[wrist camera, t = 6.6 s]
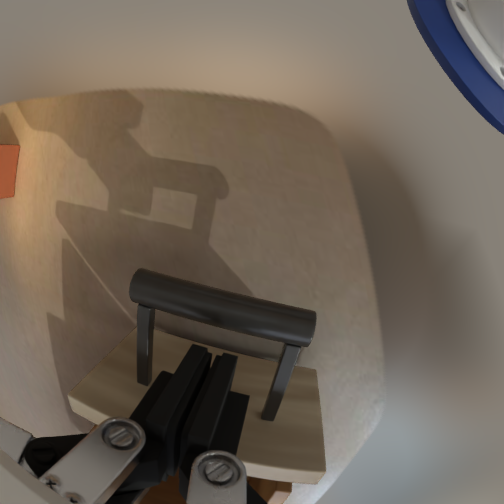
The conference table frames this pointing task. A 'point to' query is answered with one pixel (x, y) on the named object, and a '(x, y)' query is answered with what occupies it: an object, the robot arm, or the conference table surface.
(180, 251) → the conference table surface
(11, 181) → the block
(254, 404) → the drawer
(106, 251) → the conference table surface
